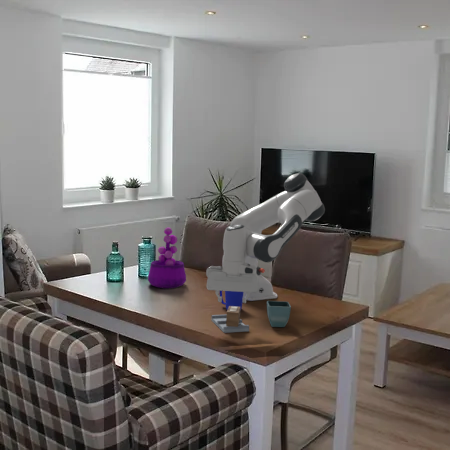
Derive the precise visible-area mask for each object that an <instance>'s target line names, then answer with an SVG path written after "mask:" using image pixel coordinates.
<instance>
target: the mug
mask: <svg viewBox="0 0 450 450" xmlns="http://www.w3.org/2000/svg"><path fill="white" fill-rule="evenodd" d="M243 293H244V292H237V291H224V295H225V296H224V298H225V302H224V299H223V291H219V295H220V297H222V302H220V303H221V304H222V305H224V306H225V309H226V310H228V308H229V306H236V307H240V311H241V310H242V308H243V303H242V300H243Z"/></svg>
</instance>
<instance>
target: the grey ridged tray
mask: <svg viewBox="0 0 450 450" xmlns="http://www.w3.org/2000/svg"><path fill="white" fill-rule="evenodd" d="M226 316H227V313H226V314H211V318H210V319H211V322H212V323H213V324H215V325H216V327H218V329H220V331H221V332H223V333H224V334H226V333H241V332H242V333H243V332H250V325H249V324H245V323H244V322H243V319H241V318H240V322H239V325H238V327H233V326H226Z"/></svg>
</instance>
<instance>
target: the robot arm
mask: <svg viewBox="0 0 450 450" xmlns="http://www.w3.org/2000/svg"><path fill="white" fill-rule="evenodd" d="M283 187H284V191H281V192H280V193H277V194H275V195H273V196H272V197H270V198H269V199H267V200H265V201H264V202H262V203H259V204H258V205H255V206H254V207H252V208H249V209H248V210H246V211H244V212H242V213H240V214H238V215H237V216H235V217H234V218H233V219H232V220H231V222H230V224H229V225H228V226H227V227H226V228H225V230H224V233H223V239H222V241H223V242H222V250H223V255H222V263H221V265H222V266H221V265H218V266H214V265H211V266H209V267H207V268H206V270H205V271H206V273H205V274H206V275H205V276H206V277H207V279H206V289H207V290H208V291H214V292H215V295H216V297H217V302H218V303H221V302H222V298H223V296H222V297H220V291H222V292H225V291H237V292H244V293H243V300H242V304H247V301H250V302H252V301H253V302H254V301H263V300H271V299H277V298H278V294H277V292H274V288H273V284H272V283H271V282H270V280H268V279H267V278H266V277H265V276H263V275H262V274H264V273H266V269H265V268H263V267H259V266H258V262H259V261H261V262H264V263H271V262H273V261H274V260H276V259H277V258H278V256H279V255H280V253H281V251H282V250H283V248H284V247H285V246H286V245H287V244H288V243H289V241H291V239H293V237H294V236H295V235H296V234H298V232H299V231H300V230H301V228H302V225H303V222H305V221H306V222H310V223H311V222H315V221H317V220H319V219H320V218H321V217H322V216H323V215H324V214H325V211H326V208H325V205H324V203H323V202H322V201H321V198H320V196H319V194H318V192H317V190H315V188H314V186H313V185H312V184H311V183H310V182H309V180H308V178H307V177H306V175H305V174H303V173H301V172H298V173H294V174H291V175H289V176H288V177H287V179H285V181H284V183H283ZM277 223H280V224H281V226H280V227H279V228H278V229H277V230H276V231H275V232H274V233H273V234H262V232H263V231H264V230H265V229H267V228H269V227H272V226H273V225H276V224H277ZM258 260H259V261H258Z"/></svg>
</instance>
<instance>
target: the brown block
mask: <svg viewBox="0 0 450 450" xmlns="http://www.w3.org/2000/svg"><path fill="white" fill-rule="evenodd" d="M226 310H227V309H226ZM226 314H227V316H226V326H233V327H238V325H239V322H240V319H241V310H240V307H236V306H229V308H228V310H227V311H226Z"/></svg>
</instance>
